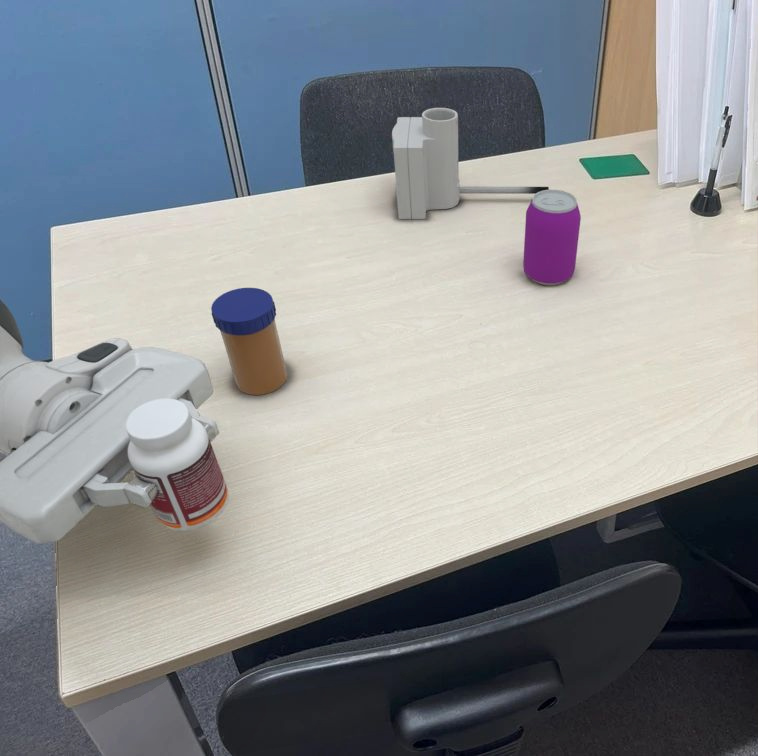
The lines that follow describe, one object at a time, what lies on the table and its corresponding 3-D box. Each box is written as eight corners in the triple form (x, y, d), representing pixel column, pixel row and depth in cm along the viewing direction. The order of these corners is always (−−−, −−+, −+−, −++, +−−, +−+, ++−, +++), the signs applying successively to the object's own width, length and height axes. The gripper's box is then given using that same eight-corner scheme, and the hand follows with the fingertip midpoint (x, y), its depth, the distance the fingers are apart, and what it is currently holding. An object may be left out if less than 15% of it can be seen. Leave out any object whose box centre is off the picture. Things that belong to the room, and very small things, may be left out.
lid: (233, 343, 76) (229, 330, 74) (203, 316, 79) (199, 303, 78) (287, 318, 79) (284, 305, 78) (256, 293, 83) (253, 280, 81)
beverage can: (575, 262, 107) (584, 189, 99) (572, 290, 101) (580, 215, 93) (526, 257, 108) (530, 184, 100) (519, 285, 102) (523, 210, 94)
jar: (252, 402, 82) (232, 330, 75) (226, 377, 85) (204, 306, 78) (297, 379, 85) (281, 308, 78) (270, 356, 88) (253, 285, 81)
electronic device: (398, 185, 124) (392, 99, 114) (543, 185, 126) (550, 101, 116) (394, 219, 115) (387, 129, 105) (551, 219, 117) (558, 130, 107)
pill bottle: (232, 474, 66) (202, 387, 59) (227, 527, 61) (195, 439, 54) (161, 484, 65) (122, 396, 57) (151, 539, 60) (108, 451, 53)
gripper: (-73, 477, 53) (71, 534, 49) (128, 326, 67) (250, 363, 64) (-34, 528, 57) (102, 585, 53) (147, 376, 71) (263, 413, 68)
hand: (184, 462), depth 59 cm, fingers closed on pill bottle, 6 cm apart
